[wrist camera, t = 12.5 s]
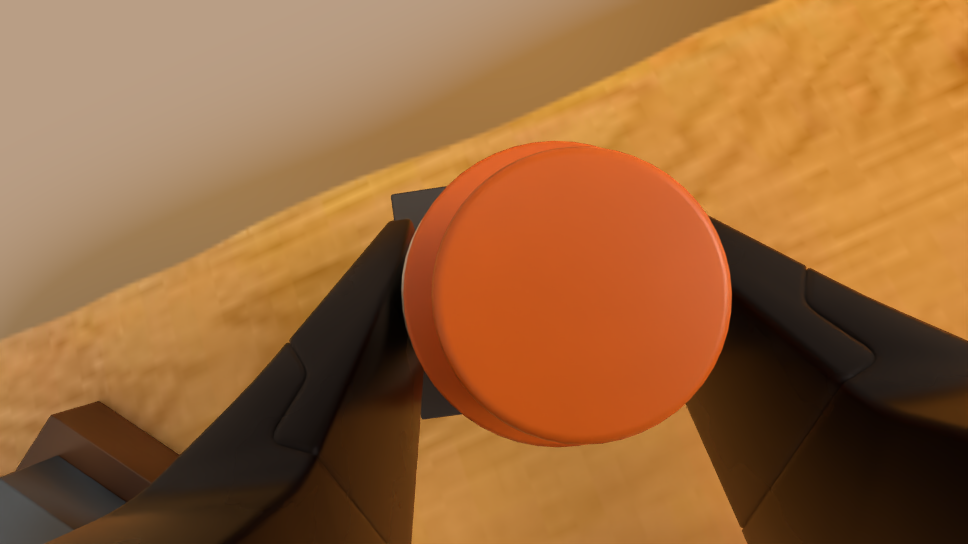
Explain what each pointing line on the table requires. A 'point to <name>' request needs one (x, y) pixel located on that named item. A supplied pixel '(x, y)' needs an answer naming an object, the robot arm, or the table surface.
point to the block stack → (77, 474)
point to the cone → (562, 294)
